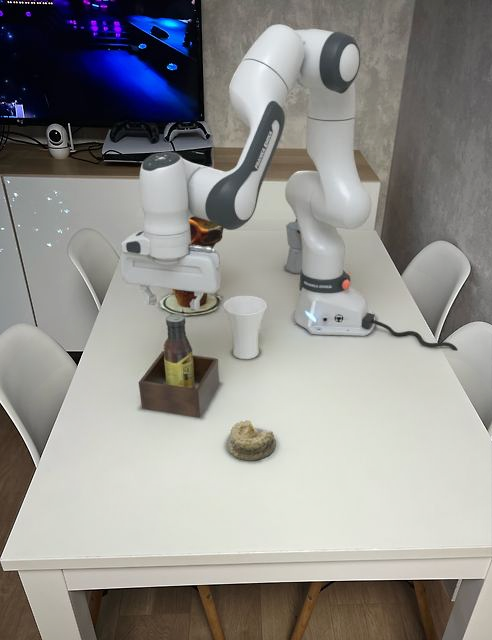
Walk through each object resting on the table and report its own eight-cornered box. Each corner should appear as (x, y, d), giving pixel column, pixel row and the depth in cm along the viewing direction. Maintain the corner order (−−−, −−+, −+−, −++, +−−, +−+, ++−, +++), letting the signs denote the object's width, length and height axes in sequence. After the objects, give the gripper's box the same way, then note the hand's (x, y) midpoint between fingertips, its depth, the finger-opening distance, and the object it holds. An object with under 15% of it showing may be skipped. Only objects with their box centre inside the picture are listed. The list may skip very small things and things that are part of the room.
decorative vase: (235, 288, 187) (233, 196, 171) (217, 323, 168) (212, 224, 152) (170, 282, 190) (162, 192, 174) (144, 316, 171) (133, 218, 155)
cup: (273, 347, 157) (273, 300, 150) (255, 367, 149) (254, 318, 142) (237, 339, 161) (235, 292, 153) (217, 357, 153) (215, 309, 146)
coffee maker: (312, 276, 195) (315, 221, 185) (285, 276, 195) (286, 221, 185) (310, 258, 207) (313, 205, 197) (284, 258, 207) (286, 205, 197)
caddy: (219, 384, 143) (218, 358, 139) (200, 417, 132) (198, 391, 128) (165, 376, 146) (162, 350, 142) (141, 408, 135) (138, 382, 131)
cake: (259, 469, 119) (257, 449, 116) (217, 452, 124) (214, 432, 121) (285, 439, 126) (284, 419, 123) (245, 424, 130) (243, 404, 127)
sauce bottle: (190, 405, 136) (184, 327, 125) (163, 402, 137) (155, 324, 126) (199, 389, 141) (193, 312, 130) (173, 386, 142) (166, 309, 131)
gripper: (224, 241, 119) (226, 305, 127) (127, 232, 123) (134, 294, 131) (214, 253, 114) (216, 319, 122) (113, 242, 118) (122, 307, 126)
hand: (173, 306), depth 126 cm, fingers open, 8 cm apart
